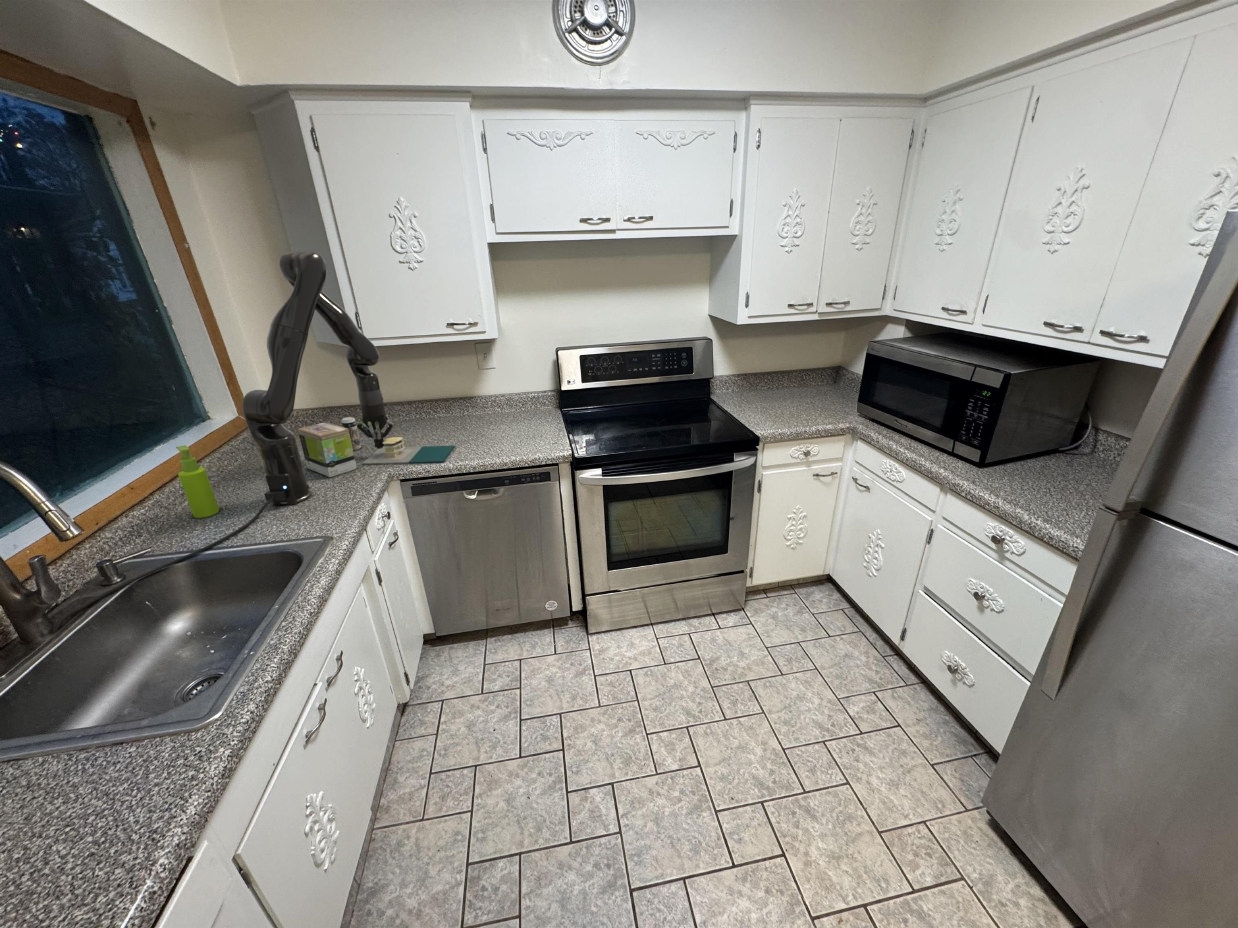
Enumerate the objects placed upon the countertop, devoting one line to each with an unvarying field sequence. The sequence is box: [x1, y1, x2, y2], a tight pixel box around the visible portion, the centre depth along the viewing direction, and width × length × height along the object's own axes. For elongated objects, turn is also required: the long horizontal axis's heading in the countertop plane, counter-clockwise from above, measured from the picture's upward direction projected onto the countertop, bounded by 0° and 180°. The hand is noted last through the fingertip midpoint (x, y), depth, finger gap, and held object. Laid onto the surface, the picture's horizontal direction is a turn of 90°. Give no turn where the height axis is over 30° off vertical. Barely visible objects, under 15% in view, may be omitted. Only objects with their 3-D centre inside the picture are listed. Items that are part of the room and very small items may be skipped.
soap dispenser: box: [175, 444, 220, 519], centre depth 141 cm, size 6×7×20 cm
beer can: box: [341, 416, 362, 451], centre depth 190 cm, size 5×5×12 cm
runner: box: [361, 445, 455, 466], centre depth 185 cm, size 16×28×1 cm, turn 93°
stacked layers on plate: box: [378, 436, 412, 459], centre depth 184 cm, size 10×9×6 cm
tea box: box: [297, 421, 357, 478], centre depth 171 cm, size 15×10×15 cm
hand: (380, 447), depth 184 cm, fingers closed
